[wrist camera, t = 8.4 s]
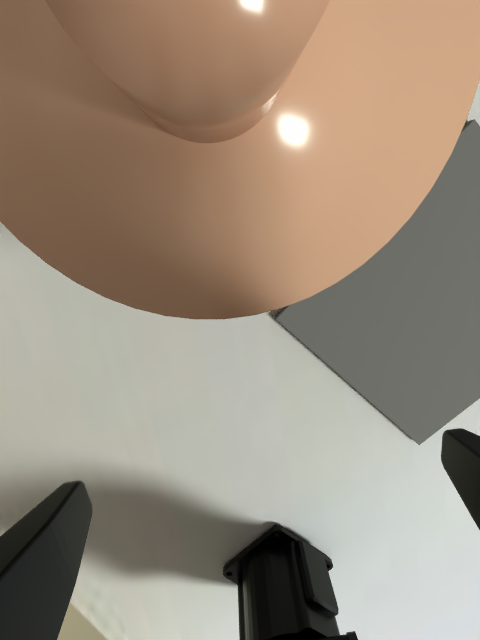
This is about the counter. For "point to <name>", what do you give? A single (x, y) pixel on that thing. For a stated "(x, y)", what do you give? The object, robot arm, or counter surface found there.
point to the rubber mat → (411, 308)
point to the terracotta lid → (225, 140)
